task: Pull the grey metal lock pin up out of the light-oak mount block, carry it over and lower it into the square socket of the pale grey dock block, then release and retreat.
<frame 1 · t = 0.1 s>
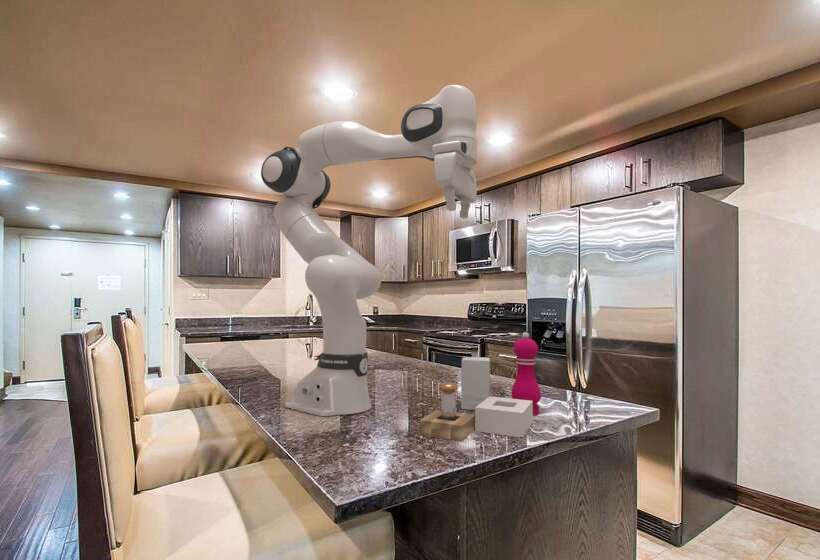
hand: (457, 214, 99), 48 cm above the counter, tool pointing down, fingers open, 8 cm apart
pin: (448, 432, 90), resting in mount
supplement box: (475, 407, 112), on the counter
dock: (505, 426, 93), on the counter
pepper mill: (526, 413, 106), on the counter
mount: (448, 431, 90), on the counter
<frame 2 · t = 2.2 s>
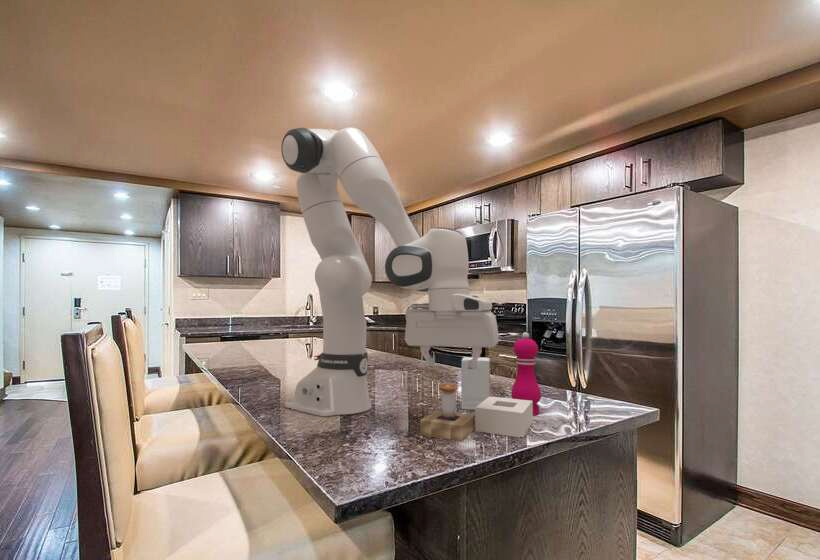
hand: (451, 367, 90), 13 cm above the counter, tool pointing down, fingers open, 8 cm apart
nothing on the counter moved.
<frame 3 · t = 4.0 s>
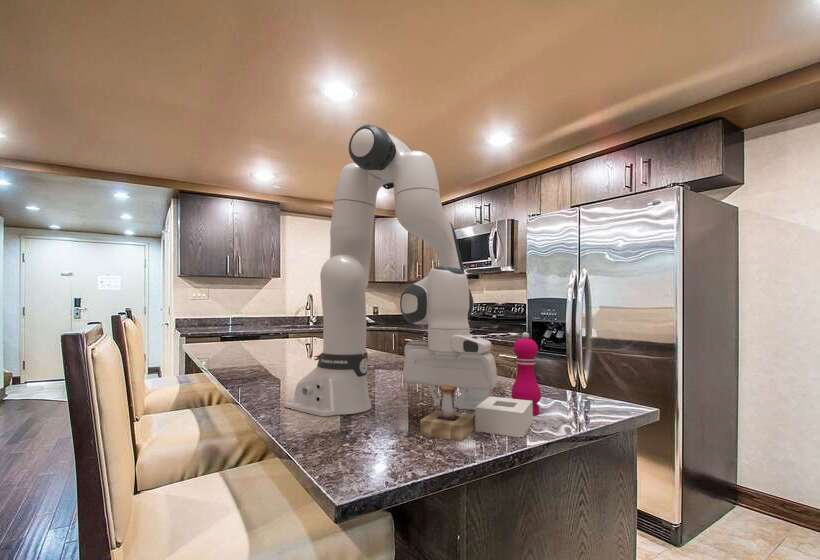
hand: (448, 407, 90), 5 cm above the counter, tool pointing down, fingers closed on pin, 3 cm apart
pin: (448, 431, 90), resting in mount, touching gripper
everything else where it was.
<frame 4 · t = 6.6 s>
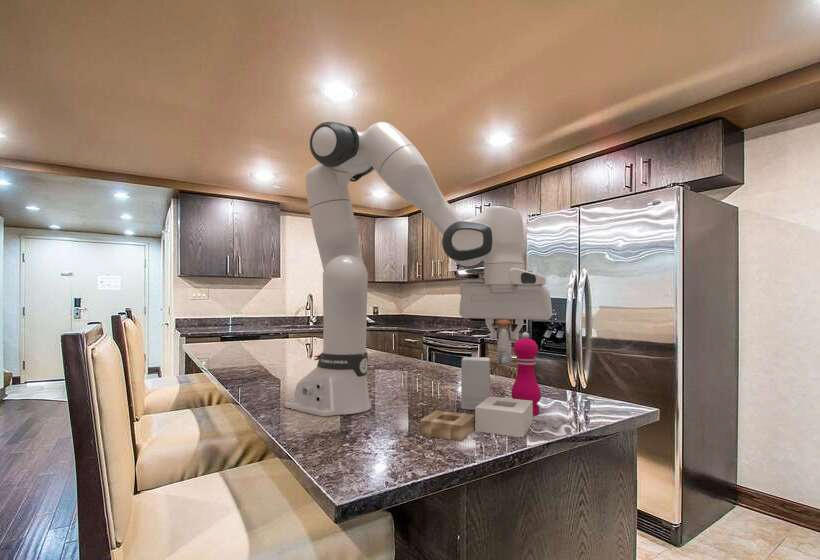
hand: (504, 339, 94), 19 cm above the counter, tool pointing down, fingers closed on pin, 3 cm apart
pin: (504, 364, 94), point 14 cm above the counter, touching gripper
everything else where it was.
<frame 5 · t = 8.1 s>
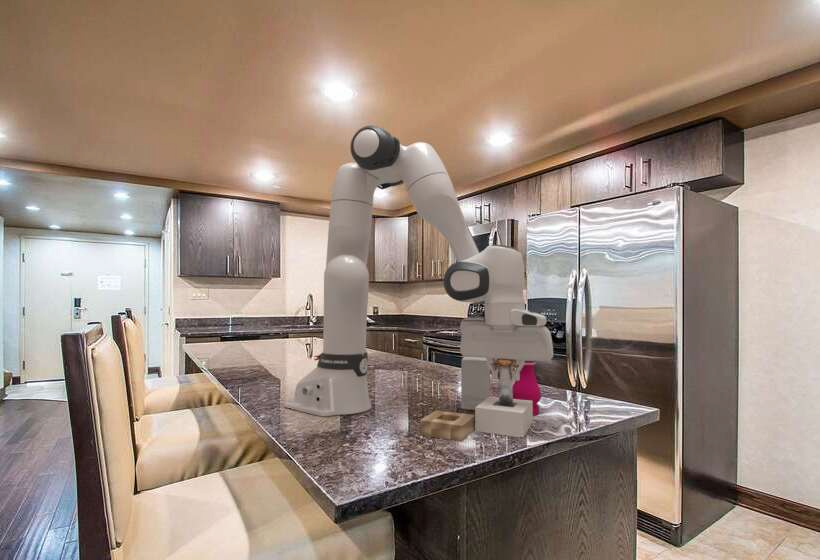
hand: (505, 379, 94), 10 cm above the counter, tool pointing down, fingers closed on pin, 3 cm apart
pin: (506, 404, 94), point 5 cm above the counter, touching gripper
everything else where it was.
when the fingers open (8 cm above the counter, at t = 9.3 s): pin drops 2 cm, resting in dock.
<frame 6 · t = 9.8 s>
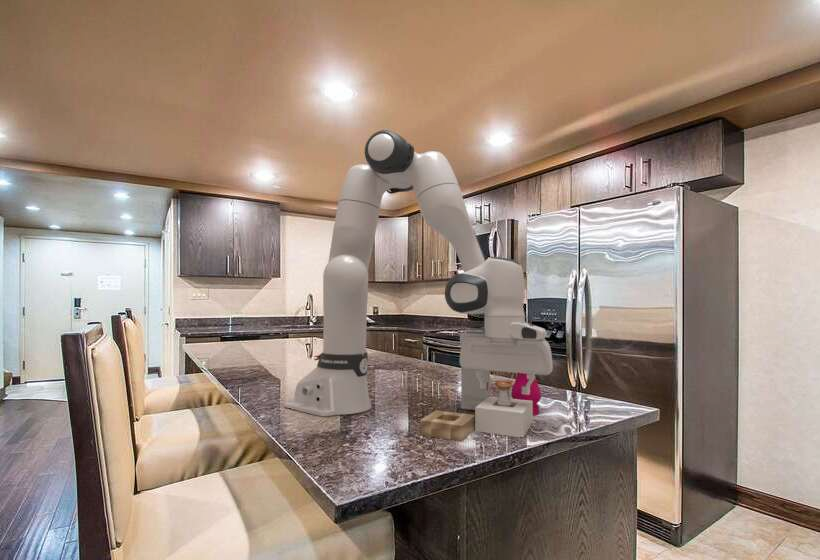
hand: (504, 392, 94), 8 cm above the counter, tool pointing down, fingers open, 8 cm apart
pin: (504, 427, 93), resting in dock
everything else where it was.
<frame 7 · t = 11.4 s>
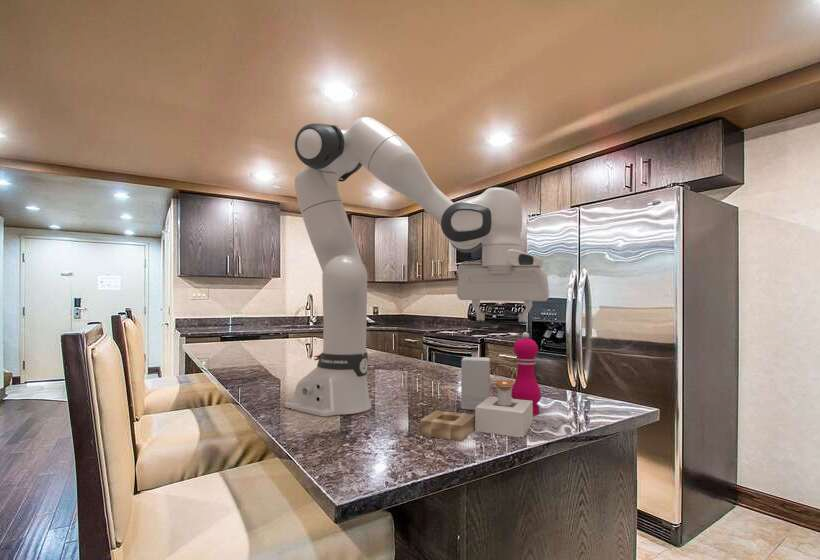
hand: (501, 321, 95), 23 cm above the counter, tool pointing down, fingers open, 8 cm apart
nothing on the counter moved.
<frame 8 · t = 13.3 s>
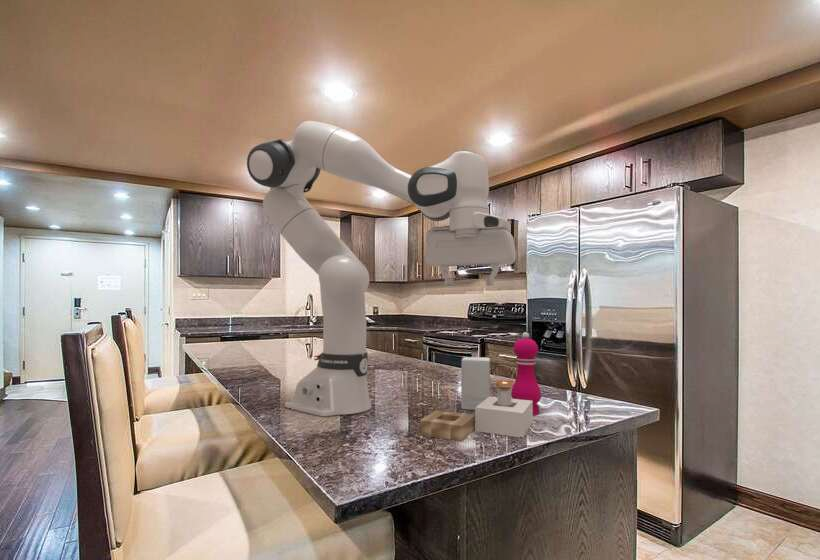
hand: (469, 285, 95), 31 cm above the counter, tool pointing down, fingers open, 8 cm apart
nothing on the counter moved.
at the end: pin 0.1 cm off-centre on the dock, point 0.0 cm above the dock's base; pin tilted 0°; the gripper is holding nothing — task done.
